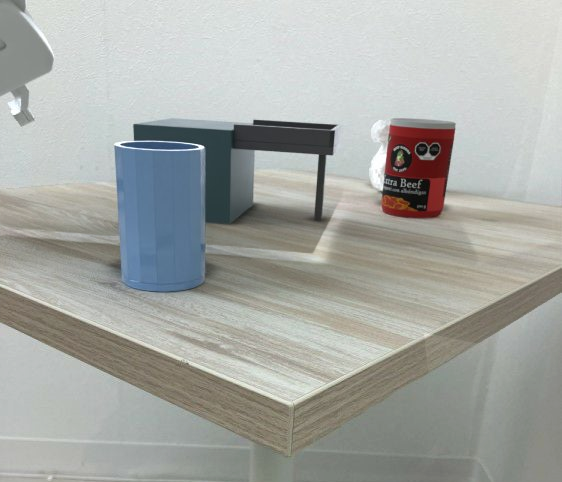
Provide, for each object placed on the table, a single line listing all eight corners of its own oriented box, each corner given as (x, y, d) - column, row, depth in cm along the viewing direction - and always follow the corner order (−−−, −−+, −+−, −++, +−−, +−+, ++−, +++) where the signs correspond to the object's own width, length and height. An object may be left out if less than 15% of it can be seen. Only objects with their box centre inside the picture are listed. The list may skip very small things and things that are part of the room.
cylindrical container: (108, 287, 48) (99, 146, 44) (139, 265, 54) (133, 139, 50) (191, 295, 47) (189, 152, 43) (213, 272, 53) (214, 144, 49)
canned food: (368, 210, 82) (377, 118, 78) (404, 205, 87) (415, 118, 83) (418, 221, 77) (431, 123, 73) (453, 214, 82) (468, 122, 78)
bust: (398, 201, 103) (363, 138, 102) (440, 175, 99) (404, 109, 98) (373, 212, 93) (334, 143, 92) (418, 184, 89) (378, 111, 88)
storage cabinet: (137, 225, 68) (132, 118, 64) (173, 205, 79) (171, 113, 74) (325, 241, 65) (334, 131, 61) (335, 218, 76) (343, 124, 72)
